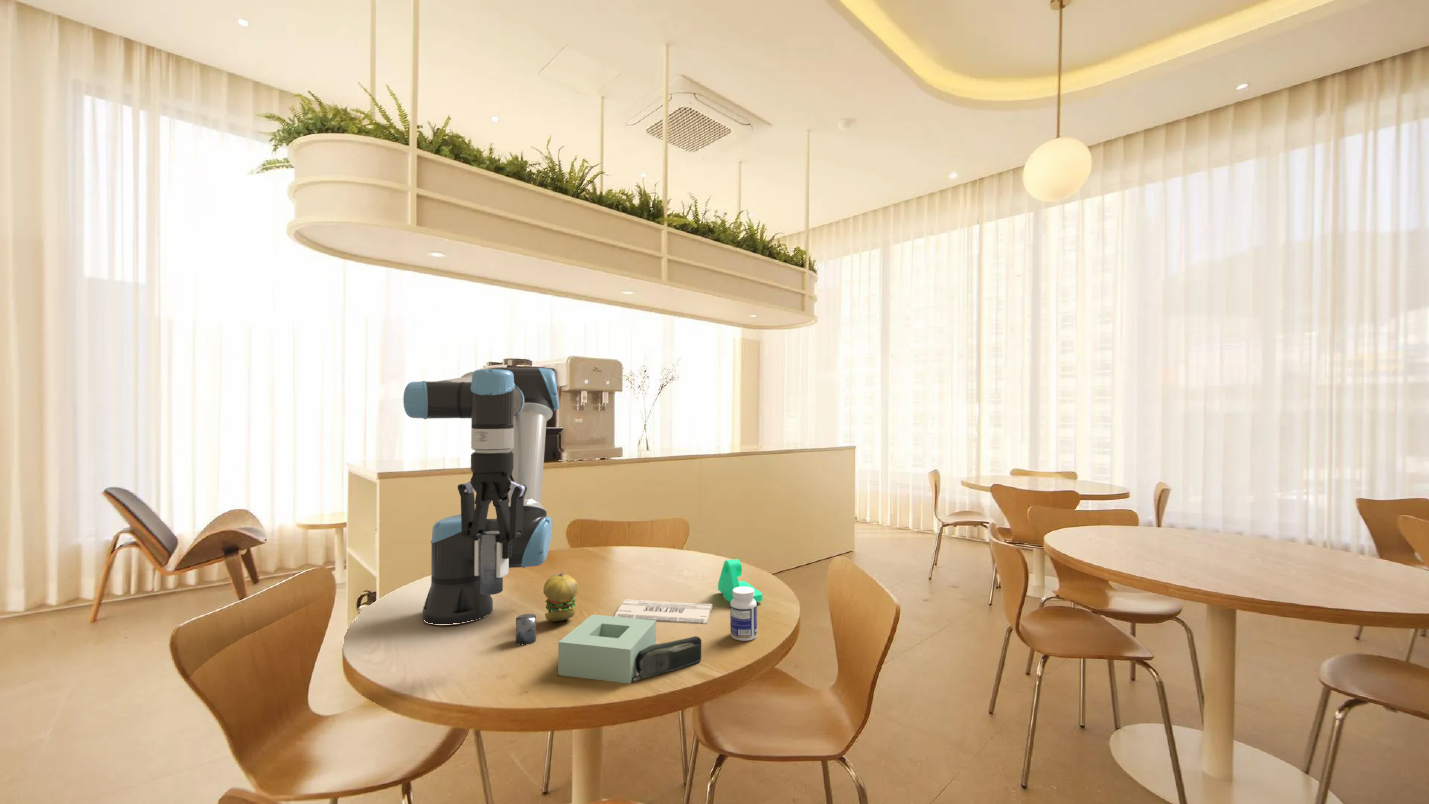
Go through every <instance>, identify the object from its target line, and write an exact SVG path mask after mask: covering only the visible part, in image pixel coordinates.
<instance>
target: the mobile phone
mask: <svg viewBox="0 0 1429 804" xmlns="http://www.w3.org/2000/svg"><path fill="white" fill-rule="evenodd" d="M701 660H702V639H701V637H698V636H691V637H686V638H681V639H677V640H672V641H668V642H662V643H656V644H655V645H651V646H648V647H647V648H645V649H643V650H641V651H640V652H639V653H638V654H637V657H636V670H637V672H638V674H637V676H636V677H634V678H632V682H633V683H634V682H637V681H641V680H643V679H647V678H651V677H655V676H658V675H663V674H665V673H666V674H667V673H669V672H673V671H677V670H680V669H684V668H687V667H691V666H694V665H696V664H699V663H700V662H701Z"/></svg>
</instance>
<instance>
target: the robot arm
mask: <svg viewBox="0 0 1429 804" xmlns="http://www.w3.org/2000/svg"><path fill="white" fill-rule="evenodd" d="M556 376H557V375H556V373H555V371H554V370H553V369H552V368H545V367H538V366H537V367H535V368H534V367H531V368H530V367H502V366H501V367H500V366H499V367H489V368H484V369H483V368H481V369H479V368H478V369H475V370H474V371H470V372H467V373H464V374H463V375H462V376H461V377H457V378H450V379H444V380H436V381H435V380H434V381H426V380H422V381H410V382H408V384H407V385H406V386H405V388H404V391H403V398H402V400H403V401H402V402H403V408H404V412H405V414H406V415H407V416H408V417H409V418H412V419H424V420H427V419H430V420H431V419H471V422H470V423H471V431H470V435H471V438H470V439H471V441H470V443H471V444H470V445H471V446H470V449H472V450H473V451H474V452H472V453H471V454H470V471H471V472H472V476H471V478H470V481H468V482H465V483H461V484H458V485H457V491H458V493H459V496H460V514H457V515H452V516H448V517H445V518H442V519H439V520H438V521H436V522H435V523H434V524H433V525H432V533H431V540H430V544H431V561H430V562H431V574H430V575H431V577H430V579H431V582H430V583H431V584H430V587H429V590H428V593H427V596H426V599H425V602H424V605H423V607H422V616H421V617H422V618H423V620H425V621H426V622H428V623H433V624H453V623H462V622H467V621H471V620H476V619H479V618H482V619H484V618H485V617H484V616H486V615H488V616H489V615H490V614H491V613H492V612H493V610H494V604H493V603H494V602H493V597H492V595H482V594H480V534H481V533H483V532H487V531H499V533H500V539H501V540H498V541H499V542H497V571H496V578H501V577H503V578H504V577H505V576H507V575H508V574H509V569H510V568H511V569H514V568H522V569H526V568H530V567H539V566H541V565H543V564H544V563H545V561H546V559H547V557H548V555H549V550H550V545H551V541H552V534H553V533H552V530H553V518H552V517H549V516H547V512H548V511H547V510H546V508H545V507H544V506H543V505H542V496H543V495H542V493H543V492H542V491H543V478H544V463H545V451H546V450H545V449H546V433H547V432H546V431H547V422H548V421H550V419H552V418H553V413H554V412H555V411H557V410H559V409H560V403H559V401H560V400H559V393H558V384H557V378H556ZM474 491H475V492H474ZM475 493H476V494H475ZM491 503H492V505H493V507H494V509H495V513H496V518H488V512H489V507H490V504H491ZM483 617H484V618H483ZM486 617H487V616H486ZM422 618H421V619H422ZM423 620H422V621H423ZM479 620H480V619H479ZM476 621H477V620H476Z"/></svg>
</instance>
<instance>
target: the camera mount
mask: <svg viewBox="0 0 1429 804" xmlns="http://www.w3.org/2000/svg"><path fill="white" fill-rule="evenodd" d="M742 572H743V567H742V562H741V561H740V559H738V558H736V559H726V560H724V562H723V565H722V568H721V573H720V576H719V579H718V583H717V591H719V592H720V593H722V596H723V597H725V598H726V599H725V600H726V601H727V600H728V601H729V602H730V603H731V601H732V599H734V597H733V589H734V588H736V587H751V588H753V589H754V594H755V595H754V597H753V599H754V600H755V601H756V603H757V602H762V601H764V600H763V597H764V595H763V593H762V591H759V590H758V589H756V587H754V586H753V585H751V584H750V583H748V582H746V581H745V580H744V581H743V580H740V581H739V577H741V576H742ZM728 601H727V602H728ZM729 602H728V603H729ZM730 603H729V604H730Z"/></svg>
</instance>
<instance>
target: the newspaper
mask: <svg viewBox="0 0 1429 804" xmlns="http://www.w3.org/2000/svg"><path fill="white" fill-rule="evenodd" d="M712 608H714V603H710V602H709V603H704V602H702V603H701V602H682V601H680V602H679V601H661V600H645V599H643V600H642V599H629V598H625V599H624V600H623V602H622V603H621V604H620V605H619V608H618V609H617V610H616V612H615V613H614V617H624V618H635V619H646V620H656V622H663V623H680V624H698V623H701V625H707V624H708V619H709V617H710V613H711V611H712V610H713V609H712ZM711 609H712V610H711Z"/></svg>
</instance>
